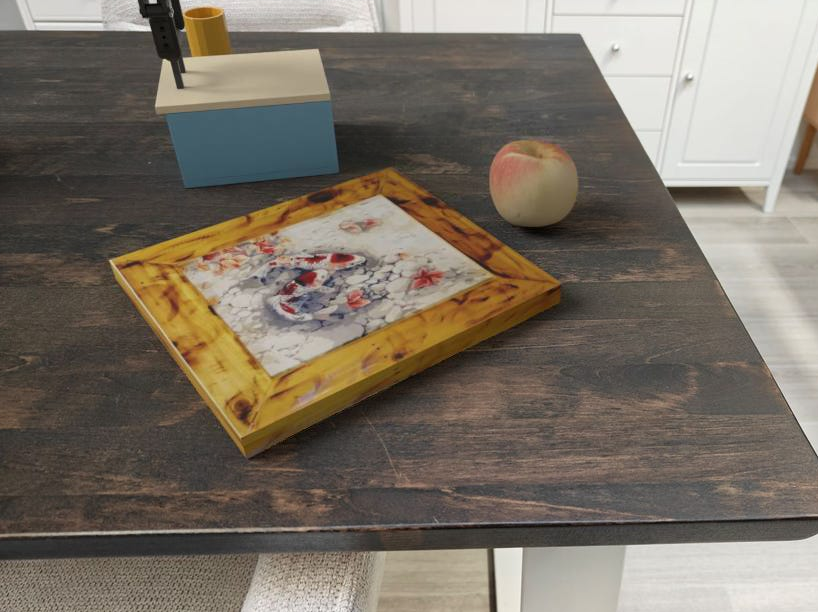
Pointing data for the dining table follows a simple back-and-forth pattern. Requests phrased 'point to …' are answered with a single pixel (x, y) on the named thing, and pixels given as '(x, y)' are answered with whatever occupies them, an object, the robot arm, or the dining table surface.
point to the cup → (207, 31)
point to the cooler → (254, 143)
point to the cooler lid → (240, 80)
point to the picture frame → (326, 301)
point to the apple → (533, 183)
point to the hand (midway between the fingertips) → (173, 42)
